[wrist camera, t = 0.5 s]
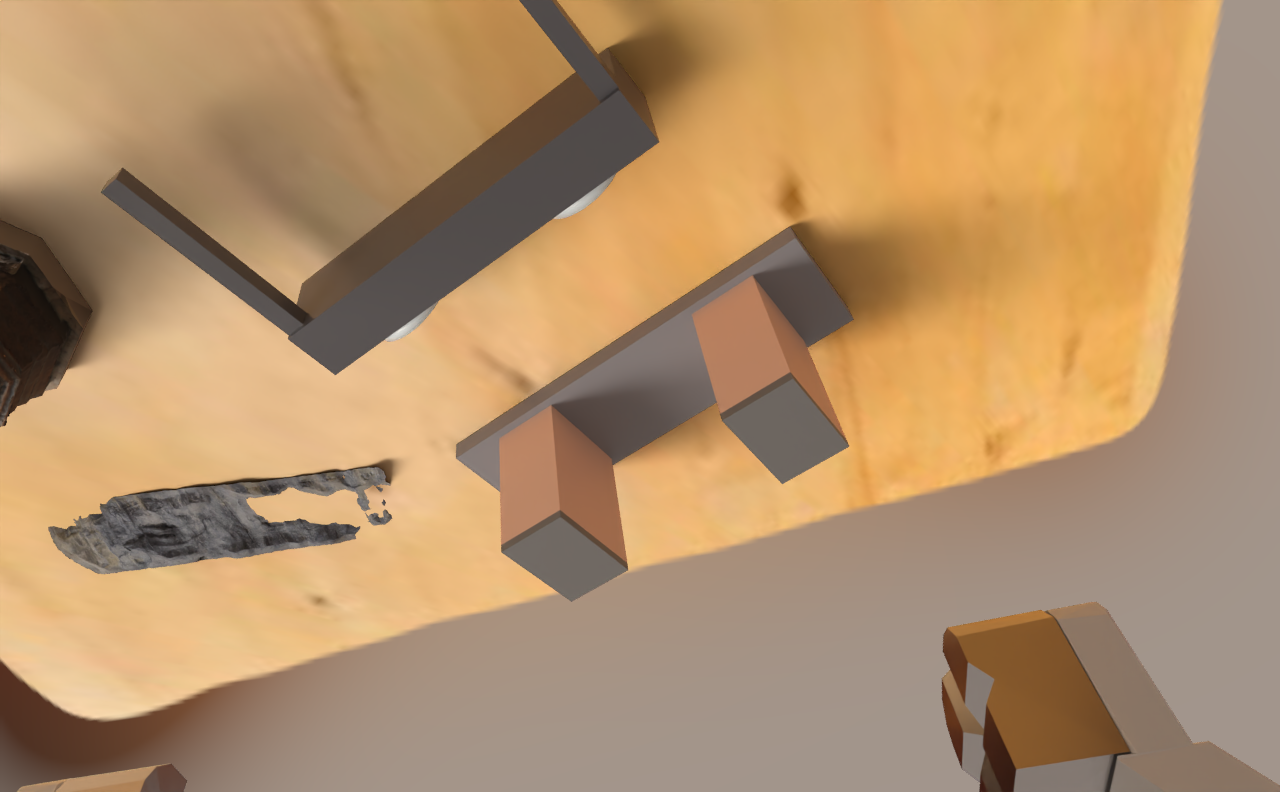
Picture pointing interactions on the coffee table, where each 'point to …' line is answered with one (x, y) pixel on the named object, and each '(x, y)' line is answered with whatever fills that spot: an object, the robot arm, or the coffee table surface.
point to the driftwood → (206, 524)
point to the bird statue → (34, 319)
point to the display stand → (663, 409)
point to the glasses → (441, 210)
